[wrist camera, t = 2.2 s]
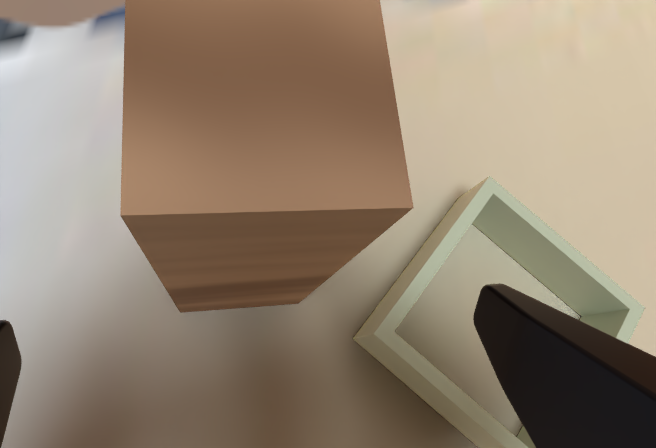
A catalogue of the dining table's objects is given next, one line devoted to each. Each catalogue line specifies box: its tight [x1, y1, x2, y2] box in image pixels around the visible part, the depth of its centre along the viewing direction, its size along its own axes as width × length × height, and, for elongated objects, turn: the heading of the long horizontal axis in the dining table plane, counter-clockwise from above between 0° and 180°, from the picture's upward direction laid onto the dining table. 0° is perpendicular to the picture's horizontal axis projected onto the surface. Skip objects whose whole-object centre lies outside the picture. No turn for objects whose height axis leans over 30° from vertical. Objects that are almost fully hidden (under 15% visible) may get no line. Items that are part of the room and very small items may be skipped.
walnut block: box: [121, 0, 413, 312], centre depth 15 cm, size 5×5×13 cm
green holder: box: [353, 176, 645, 448], centre depth 21 cm, size 9×9×3 cm
